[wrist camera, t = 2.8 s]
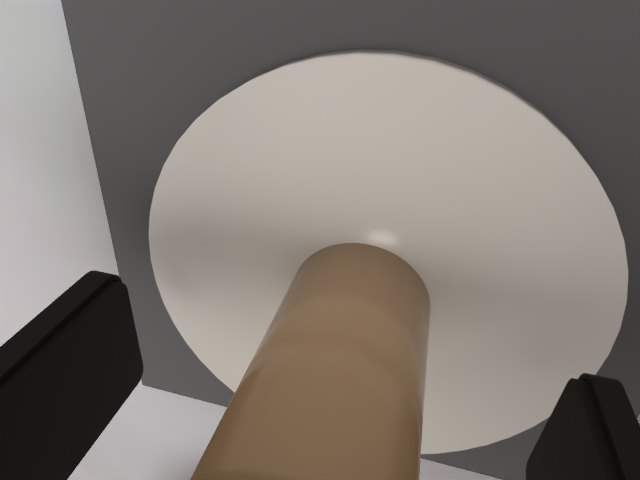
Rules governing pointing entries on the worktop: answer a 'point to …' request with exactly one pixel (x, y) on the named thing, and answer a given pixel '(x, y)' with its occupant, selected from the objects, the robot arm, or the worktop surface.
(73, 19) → the mat
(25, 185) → the worktop surface
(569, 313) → the lid
